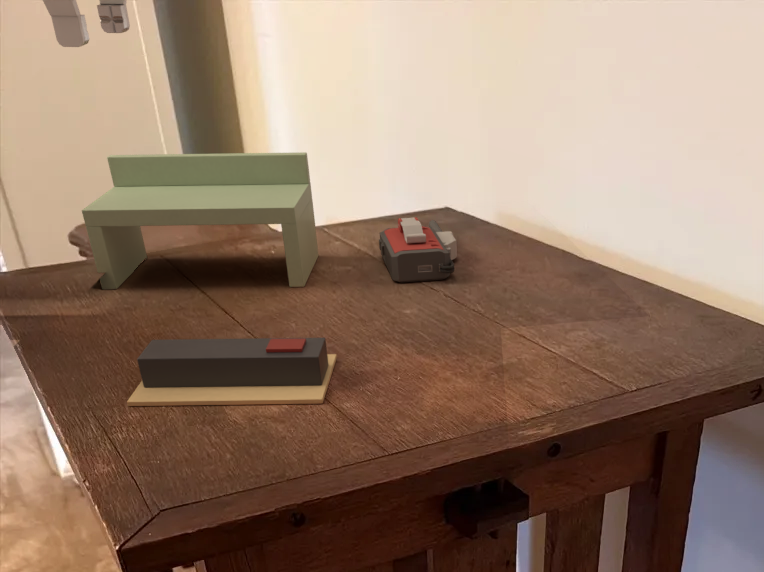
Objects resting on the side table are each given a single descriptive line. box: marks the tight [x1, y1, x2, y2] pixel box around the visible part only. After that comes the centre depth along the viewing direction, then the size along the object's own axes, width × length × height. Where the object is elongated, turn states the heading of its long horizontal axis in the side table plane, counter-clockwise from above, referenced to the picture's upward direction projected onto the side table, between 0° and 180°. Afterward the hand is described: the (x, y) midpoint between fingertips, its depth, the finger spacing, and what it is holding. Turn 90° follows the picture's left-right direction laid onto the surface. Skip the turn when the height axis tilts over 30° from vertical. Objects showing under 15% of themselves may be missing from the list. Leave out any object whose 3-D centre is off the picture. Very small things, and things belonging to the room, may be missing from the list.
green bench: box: [81, 151, 319, 290], centre depth 100 cm, size 22×12×11 cm, turn 90°
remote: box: [136, 337, 329, 388], centre depth 78 cm, size 15×4×3 cm, turn 90°
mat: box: [126, 353, 338, 407], centre depth 79 cm, size 16×10×1 cm, turn 90°
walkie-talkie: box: [378, 216, 458, 284], centre depth 106 cm, size 9×4×20 cm
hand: (96, 38), depth 67 cm, fingers open, 8 cm apart
